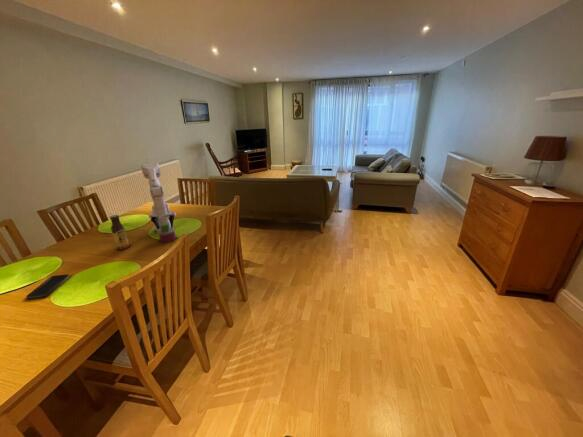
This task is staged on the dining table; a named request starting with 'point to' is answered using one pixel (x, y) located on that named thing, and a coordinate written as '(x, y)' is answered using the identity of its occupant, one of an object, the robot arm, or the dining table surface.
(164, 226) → the block
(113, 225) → the sauce bottle
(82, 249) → the dining table surface
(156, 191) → the robot arm
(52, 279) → the phone
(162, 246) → the dining table surface
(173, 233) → the jar
